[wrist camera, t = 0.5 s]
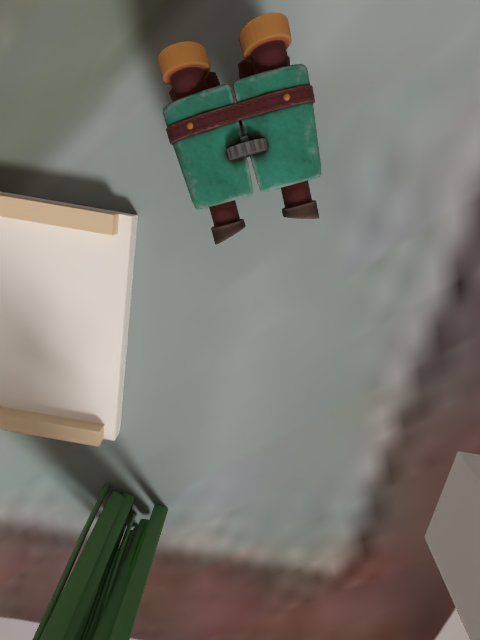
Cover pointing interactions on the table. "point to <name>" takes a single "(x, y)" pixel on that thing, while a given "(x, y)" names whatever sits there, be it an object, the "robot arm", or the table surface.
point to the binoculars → (243, 125)
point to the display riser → (63, 317)
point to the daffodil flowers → (104, 575)
